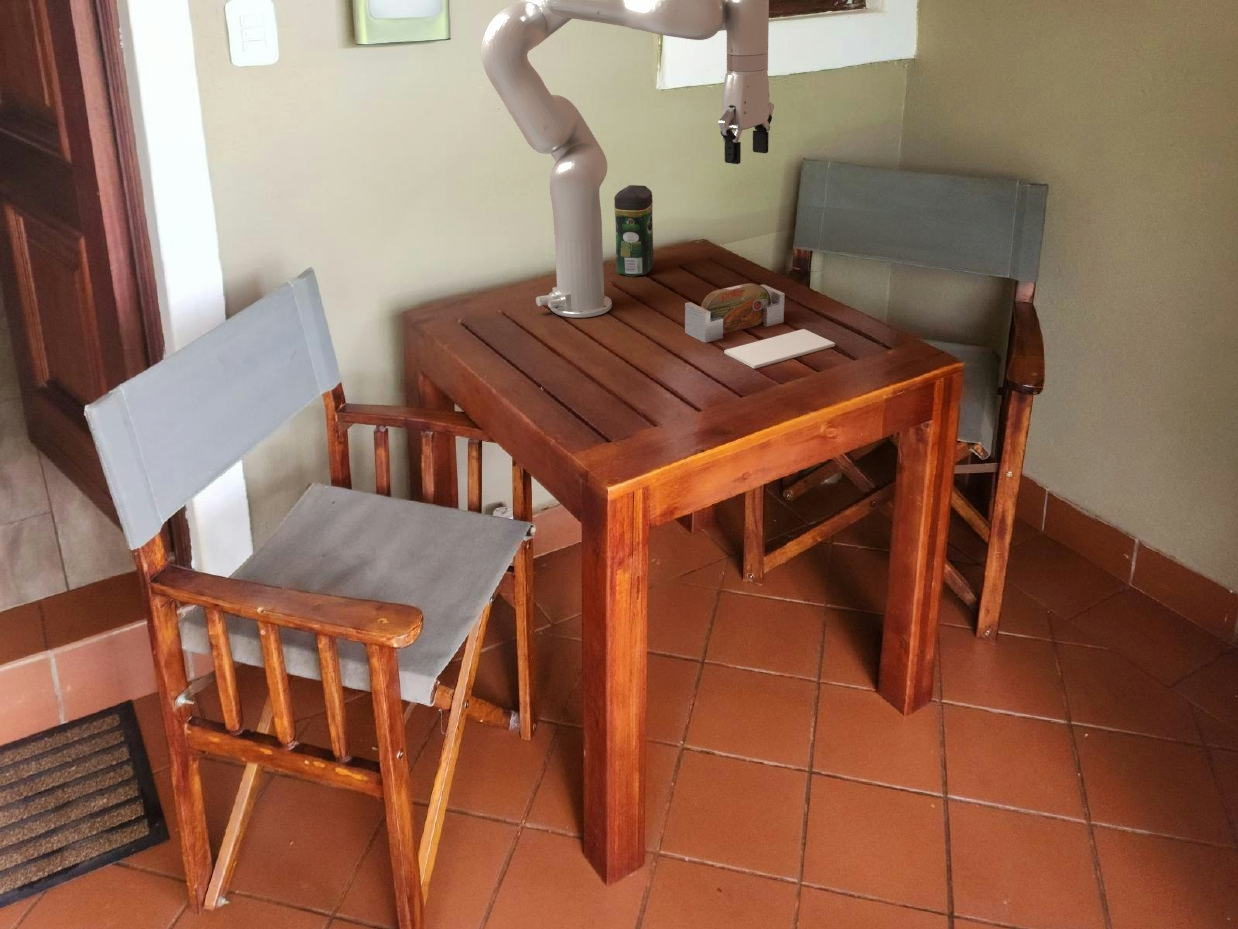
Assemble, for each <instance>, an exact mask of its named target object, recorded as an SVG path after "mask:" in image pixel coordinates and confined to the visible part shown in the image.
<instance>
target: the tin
mask: <svg viewBox="0 0 1238 929" xmlns="http://www.w3.org/2000/svg"><path fill="white" fill-rule="evenodd" d="M760 285H761V284H760ZM760 285H759V284H755V283H751V282H750V283H749V282H747V283H743V284H739V285H734V286H729V287H725V288H720V289H716V290H712V291H711V292H709V293H708V294H707V295H706V296H705V297H704V299H703V301H702V302H701V305H700V307H702V308H704V309H706V310H708V311H710V319H714V318H718V317H721V318H723V334H727V333H728V334H729V333H732V332H735V331H740V330H744V329H749V328H754V327H757V326H759V325H760V324H762V323H763V321H764V306H766V305H770V304H771V299H770V295H769V293H768V291H767V290H766V289H765V288H764V287H762V286H760Z"/></svg>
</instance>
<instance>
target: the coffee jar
mask: <svg viewBox="0 0 1238 929" xmlns="http://www.w3.org/2000/svg"><path fill="white" fill-rule="evenodd" d="M613 199H614V204H613V205H614V207H613V208H614V222H615V260H616V261H615V270H616V273H617V274H618V275H619V274H620V275H623V276H626V277H636V276H644V275H647V274H649V273H650V271H651V270H652V269H653V268H654V264H655V263H654V262H655V260H654V259H655V258H654V236H653V234H654V232H653V230H654V228H653V203H654V202H653V201H654V200H653V192H652V190H651V189H650V188H649V187H647V186H646V185H637V184H636V185H635V184H633V185H632V184H630V185H628V186H626V187H624V188H622V189H620V190H619V191H618V192H617V193H616V194H615V196H614V198H613Z"/></svg>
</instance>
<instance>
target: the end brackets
mask: <svg viewBox="0 0 1238 929" xmlns="http://www.w3.org/2000/svg"><path fill="white" fill-rule="evenodd" d="M760 286H762V287H764V288H765V289H766V290H767V291H768V293H769V295H770V299H771V304H770V305H766V306H764V321H763V322H762V323H763V326H764V327H766V328H767V327H770V326H776V325H778V324H783V323H784V320H785V319H784V314H785V292H782V291H780V290H777V289H775V288H773V287H771V286H768V285H766V284H760ZM684 319H685V320H684V333H685V334H687V335H689V336H690V337H693V338H695V339H696V340H699V341H701V342H702V343H704V344H707V343H709V342H710V343H711V342H714V341H717V340H721V339H723V338H724V336H723V318H721V317H718V318H714V319H710V311H708V310H706V309H704V308H702V307H701V306H699V305H697V304H695V303H693V302H692V301H691V302H685V303H684Z"/></svg>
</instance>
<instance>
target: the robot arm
mask: <svg viewBox="0 0 1238 929" xmlns="http://www.w3.org/2000/svg"><path fill="white" fill-rule="evenodd" d="M769 1H770V0H519V1H517V2H516V3H514V4H512V5H509V6H507V7H505V8H504V9H502V10H500V11H499V12H498V13H497V14H496V15H495V16H494V17H493V19H491V21H490V22H489V24H488V26H487V28H486V30H485V33H484V35H483V38H482V42H481V48H480V49H481V52H480V54H481V55H480V56H481V61H482V65H483V69H484V71H485V74H486V76H487V78H488V80H489V82H490V83H491V85H492V86H493V88H494V90H495V91H496V92H497V94H498V96H499V98H500V100H501V101H502V102H503V104H504V106H505V107H506V110H507V111H508V113H509V114H510V115H511V117H512V119H513V121H514V122H515V124H516V125H517V127H518V129H519V130H520V132H521V134H522V136H523V137H524V139H525V141H526V142H527V144H528V145H529V146H530V147H531V148H532V149H533V150H535V152H538V153H540V154H545V155H549V154H550V155H551V156H552V159H554V161H555V163H554V165H553V167H552V168H551V172H550V176H549V192H550V199H551V200H550V201H551V206H552V218H553V232H554V247H555V248H554V249H555V251H554V252H555V268H556V269H555V270H556V271H555V272H556V286H554V287H552V291H551V292H549V294H547V295H546V294H545V295H540V296H539V295H538V296H536V297H535V302H536V303H535V304H536V305H537V307H541V306H546V305H548V307H549V308H550V310H551V311H552V313H555V314H556V315H558V316H561V317H565V318H566V317H567V318H577V319H579V318H580V319H581V318H583V319H584V318H592V317H596V316H600V315H603V314H605V313H608V312H609V311H610V310H611V309H612V306H613V303H612V299H611V298H610V297H608V296H607V295H605V294H604V293H605V292H604V291H605V288H604V285H605V284H604V257H603V256H604V255H603V254H604V253H603V252H604V251H603V224H602V222H603V221H602V220H603V218H602V209H601V200H600V198H601V197H600V188H601V185H602V184H603V182H604V180H605V178H606V176H607V172H608V161H607V160H608V159H607V157H606V155H605V152H604V150H603V149H602V147H601V145H600V144H599V142H598V141H597V139H596V137H595V135H594V134H593V132H592V131H591V129H590V128H589V126H588V124H587V122H586V120H585V119H584V117H583V116H582V114H581V113H580V111H579V109H578V108H577V107H576V106H575V105H574V103H572V101H570V100H569V99H568V98H566V97H565V96H561V95H558V94H551V92H550V91H549V89H548V88H547V86H546V85H545V83H544V81H543V79H542V77H541V76H540V74H539V73H538V72H537V70H536V69H535V68H534V67H533V66H532V64H531V63H530V61H529V59H528V53H529V52H530V51H531V50H533V49H534V48H536V47H538V46H539V45H540V44H541V43H543V42H544V41H545V40H547V39H548V38H549V37H551V35H554V34H555V32H556V31H559V29H561V28H562V27H563V26H565V25H566V24H567V23H569V22H570V21H571V20H572V19H573V20H579V21H588V22H593V23H594V22H595V23H599V24H607V25H613V26H620V27H625V28H628V29H632V30H637V31H643V32H647V33H651V34H656V35H660V36H667V37H674V38H679V39H686V40H693V41H704V40H708V39H712V38H713V37H714V36H715V35H717V33H718V32H722V31H726V73H725V76H724V79H723V80H724V82H723V88H722V96H721V97H722V98H721V99H722V100H721V118H719V120H718V127H719V129H720V135H721V136H722V141H723V142H724V163H726V164H732V165H739V164H741V161H742V160H741V159H742V158H741V152H742V150H741V141H740V138H741V136H742V133H743V131H746V130H748V129H751V128H754V130H752V151H753V153H760V154H767V153H769V134H770V130H771V125H770V124H771V122H772V119H773V112H774V109H775V108H774V107H775V104H773V103H772V102H771V101H770V84H769V82H770V81H769V73H768V72H769V25H770V24H769V21H770V19H769V18H770V17H769V16H770V15H769V14H770V12H769V10H770V8H769V7H770V2H769ZM734 131H735V132H734Z"/></svg>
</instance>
